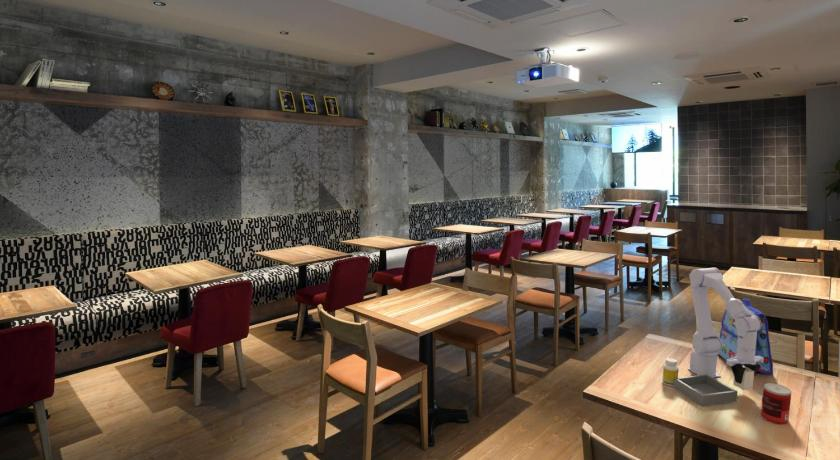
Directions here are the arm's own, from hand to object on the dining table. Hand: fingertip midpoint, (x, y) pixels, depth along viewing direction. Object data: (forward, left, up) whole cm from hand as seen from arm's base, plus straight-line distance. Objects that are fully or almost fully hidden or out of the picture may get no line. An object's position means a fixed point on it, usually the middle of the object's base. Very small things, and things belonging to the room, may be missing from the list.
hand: (743, 381), depth 182 cm
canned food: (+17, -4, -5) cm, 18 cm away
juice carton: (0, 0, -2) cm, 2 cm away
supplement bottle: (-14, -20, -5) cm, 25 cm away
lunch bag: (-23, +23, -5) cm, 33 cm away
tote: (-3, -14, -5) cm, 15 cm away
